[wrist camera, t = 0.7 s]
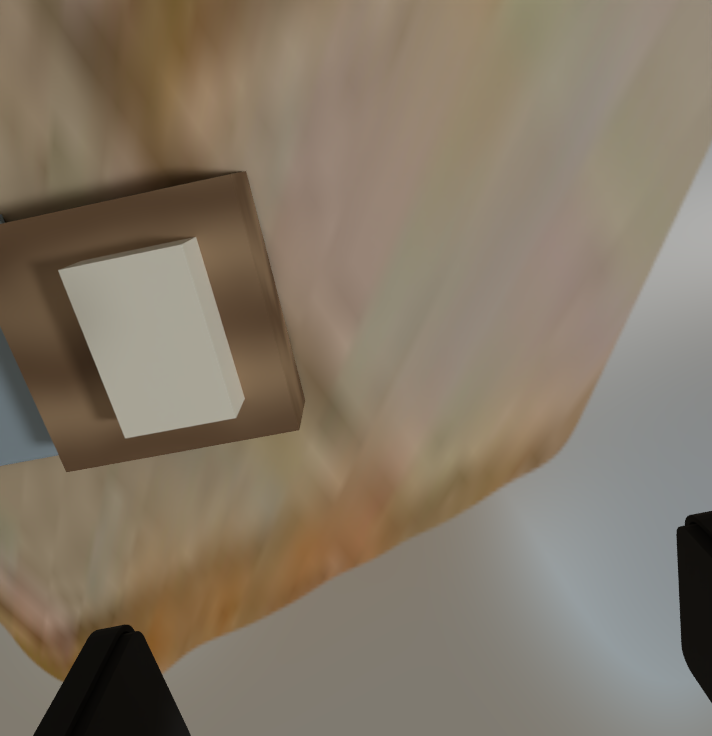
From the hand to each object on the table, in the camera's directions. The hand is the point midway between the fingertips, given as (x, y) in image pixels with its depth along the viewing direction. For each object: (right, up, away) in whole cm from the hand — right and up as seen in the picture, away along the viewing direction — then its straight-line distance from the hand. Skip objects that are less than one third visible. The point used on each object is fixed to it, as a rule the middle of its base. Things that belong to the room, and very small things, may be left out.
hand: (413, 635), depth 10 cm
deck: (-12, +8, +24) cm, 28 cm away
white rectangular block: (-11, +7, +20) cm, 24 cm away
